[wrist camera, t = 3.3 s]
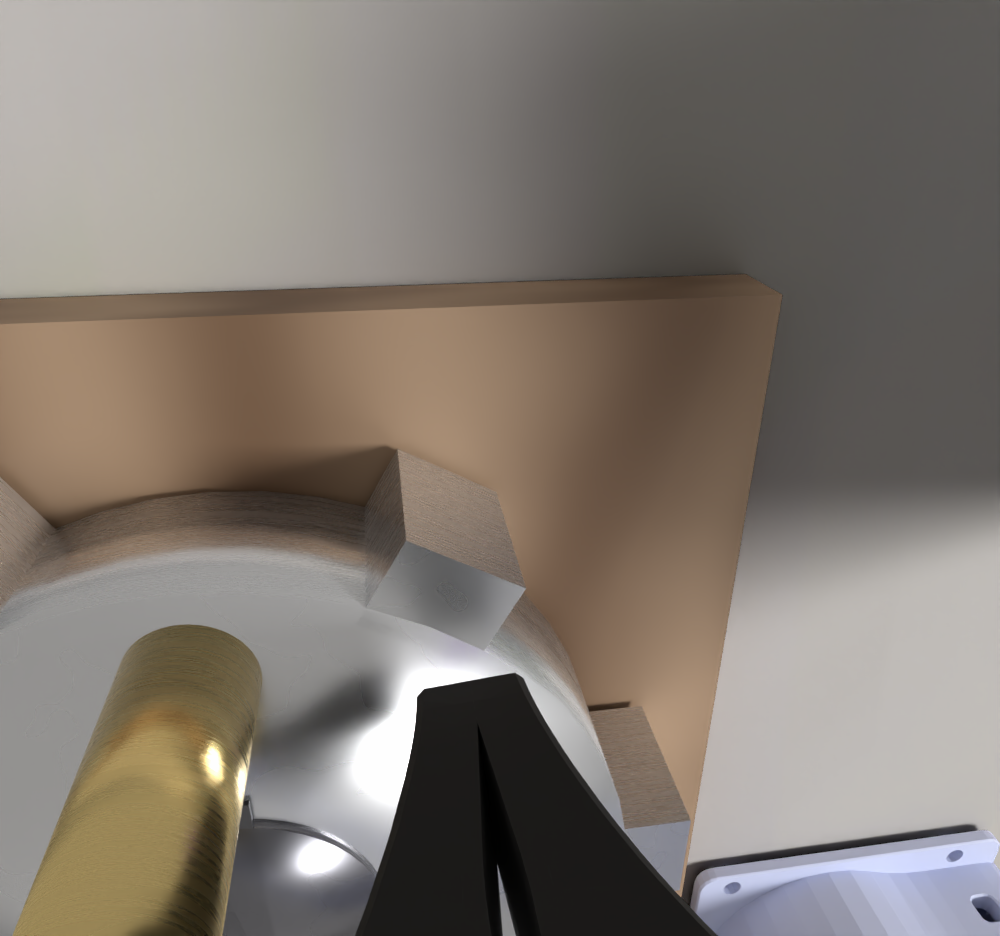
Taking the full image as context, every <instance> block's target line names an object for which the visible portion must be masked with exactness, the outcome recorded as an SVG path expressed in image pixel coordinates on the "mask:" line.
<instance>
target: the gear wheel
mask: <svg viewBox="0 0 1000 936" xmlns="http://www.w3.org/2000/svg"><path fill="white" fill-rule="evenodd" d="M525 590H526V586H525V583H524V580H523V577H522V573H521V570H520V567H519V564H518V560H517V557H516V554H515V551H514V548H513V544H512V541H511V538H510V535H509V531H508V528H507V525H506V522H505V518H504V515H503V512H502V509H501V506H500V502H499V499H498V496H497V493H496V492H495V491H493V490H490V489H488V488H486V487H484V486H481V485H479V484H477V483H474V482H472V481H470V480H468V479H465V478H463V477H461V476H459V475H456V474H454V473H452V472H450V471H447V470H445V469H443V468H441V467H438V466H436V465H434V464H431V463H429V462H427V461H425V460H422V459H420V458H418V457H416V456H413V455H411V454H409V453H407V452H404V451H402V450H400V449H397V450H396V452H395V454H394V456H393V458H392V459H391V461H390V463H389V465H388V466H387V468H386V470H385V472H384V474H383V475H382V477H381V479H380V481H379V482H378V484H377V486H376V488H375V490H374V491H373V493H372V495H371V497H370V498H369V500H368V502H367V504H366V506H365V507H364V506H360V505H355V504H350V503H346V502H341V501H336V500H332V499H327V498H322V497H317V496H307V495H297V494H287V493H277V492H267V491H248V492H205V493H197V494H188V495H180V496H172V497H164V498H156V499H151V500H147V501H143V502H138V503H134V504H130V505H126V506H122V507H118V508H114V509H109V510H105V511H101V512H98V513H96V514H93V515H90V516H87V517H85V518H82V519H79V520H77V521H74V522H71V523H69V524H66V525H63V526H61V527H58V528H54V527H53V526H52V525H51V524H50V523H49V522H47V521H46V520H45V519H44V518H43V517H42V516H41V515H40V514H39V513H38V512H37V511H36V510H35V509H34V508H33V507H32V506H30V505H29V504H28V503H27V502H26V501H25V500H24V499H23V498H22V497H21V496H20V495H19V494H18V493H17V492H16V491H15V490H13V489H12V488H11V487H10V486H9V485H8V484H7V483H6V482H5V481H4V480H3V479H2V478H1V477H0V936H355V934H356V931H357V929H358V926H359V923H360V921H361V918H362V915H363V913H364V910H365V907H366V905H367V902H368V899H369V896H370V893H371V890H372V887H373V884H374V881H375V878H376V875H377V872H378V869H379V866H380V863H381V860H382V857H383V854H384V851H385V848H386V845H387V841H388V838H389V835H390V831H391V828H392V824H393V820H394V817H395V813H396V809H397V805H398V801H399V798H400V794H401V790H402V786H403V783H404V779H405V774H406V769H407V765H408V760H409V755H410V750H411V745H412V739H413V733H414V725H415V717H416V699H417V696H418V695H419V694H420V693H421V691H422V690H423V689H425V688H431V687H436V686H442V685H448V684H453V683H459V682H465V681H470V680H476V679H481V678H487V677H493V676H498V675H504V674H510V673H516V674H518V675H520V676H521V677H523V678H524V680H525V683H526V685H527V687H528V689H529V691H530V693H531V695H532V697H533V699H534V701H535V703H536V705H537V707H538V709H539V711H540V712H541V714H542V716H543V717H544V719H545V721H546V723H547V724H548V726H549V728H550V729H551V731H552V732H553V734H554V736H555V737H556V739H557V740H558V742H559V743H560V745H561V747H562V748H563V750H564V751H565V753H566V754H567V756H568V757H569V759H570V760H571V762H572V763H573V765H574V766H575V767H576V769H577V770H578V771H579V773H580V774H581V776H582V777H583V778H584V780H585V781H586V782H587V784H588V785H589V787H590V788H591V789H592V791H593V792H594V794H595V795H596V796H597V798H598V799H599V800H600V802H601V803H602V804H603V806H604V807H605V808H606V810H607V811H608V812H609V813H610V815H611V816H612V817H613V819H614V820H615V821H616V822H617V824H618V825H619V826H620V827H621V829H622V830H623V831H624V832H625V833H626V835H627V836H628V837H629V838H630V840H631V841H632V842H633V843H634V844H635V846H636V847H637V848H638V849H639V851H640V852H641V853H642V854H643V855H644V856H645V858H646V859H647V860H648V861H649V862H650V863H651V865H652V866H653V867H654V868H655V869H656V870H657V872H658V873H659V874H660V875H661V876H662V877H663V878H664V879H665V881H666V882H667V883H668V884H669V885H670V886H671V887H672V888H673V889H674V891H677V890H680V884H681V878H682V872H683V866H684V859H685V853H686V847H687V841H688V835H689V829H690V823H691V819H690V817H689V815H688V813H687V810H686V808H685V806H684V803H683V801H682V799H681V796H680V794H679V792H678V789H677V787H676V785H675V782H674V780H673V778H672V775H671V773H670V771H669V768H668V766H667V764H666V762H665V759H664V757H663V755H662V752H661V750H660V748H659V745H658V743H657V741H656V738H655V736H654V734H653V731H652V729H651V727H650V724H649V722H648V720H647V717H646V715H645V713H644V711H643V708H642V706H635V707H626V708H617V709H608V710H599V711H589V710H588V707H587V705H586V702H585V699H584V696H583V693H582V690H581V687H580V684H579V682H578V679H577V677H576V674H575V671H574V669H573V666H572V664H571V661H570V658H569V656H568V653H567V652H566V650H565V648H564V647H563V645H562V643H561V641H560V640H559V638H558V636H557V635H556V633H555V631H554V630H553V628H552V626H551V625H550V623H549V622H548V621H547V620H546V618H545V617H544V616H543V615H542V614H541V612H540V611H539V610H538V609H537V608H536V606H535V605H534V604H533V603H532V602H531V600H530V599H529V598H528V597H527V596H526V595H525V594H524V591H525ZM497 867H498V865H497ZM498 880H499V893H500V906H501V919H502V932H503V936H516V935H515V931H514V927H513V923H512V919H511V915H510V911H509V908H508V904H507V900H506V896H505V892H504V888H503V884H502V880H501V877H500V873H499V869H498Z"/></svg>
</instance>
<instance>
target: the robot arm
mask: <svg viewBox="0 0 1000 936" xmlns="http://www.w3.org/2000/svg"><path fill="white" fill-rule="evenodd" d="M999 845H1000V844H999V842H998V840H997V839H996V838H995V836H994V835H993V834H992V833H991V832H989V831H987V830H978V831H971V832H963V833H956V834H949V835H942V836H935V837H928V838H921V839H914V840H906V841H899V842H892V843H885V844H878V845H871V846H864V847H857V848H850V849H842V850H835V851H828V852H821V853H814V854H807V855H800V856H793V857H785V858H778V859H771V860H764V861H757V862H750V863H743V864H736V865H729V866H721V867H714V868H710V869H706V870H704V871H703V872H701V873H700V874H699V875H698V876H697V877H696V879H695V882H694V887H693V893H692V898H691V904H690V906H689V905H688V904H687V903H686V902H685V901H684V900H683V899H682V898H681V897H680V896H679V895H678V894H677V893H676V892H675V891H674V889H673V888H672V887H671V886H670V885H669V884H668V883H667V882H666V881H665V879H664V878H663V877H662V876H661V875H660V874H659V873H658V872H657V870H656V869H655V868H654V867H653V866H652V865H651V863H650V862H649V861H648V860H647V859H646V858H645V856H644V855H643V854H642V853H641V852H640V851H639V849H638V848H637V847H636V846H635V844H634V843H633V842H632V841H631V840H630V838H629V837H628V836H627V835H626V833H625V832H624V831H623V830H622V829H621V827H620V826H619V825H618V824H617V822H616V821H615V820H614V819H613V817H612V816H611V815H610V813H609V812H608V811H607V810H606V808H605V807H604V806H603V804H602V803H601V802H600V800H599V799H598V798H597V796H596V795H595V794H594V792H593V791H592V789H591V788H590V787H589V785H588V784H587V782H586V781H585V780H584V778H583V777H582V776H581V774H580V773H579V771H578V770H577V769H576V767H575V766H574V765H573V763H572V762H571V760H570V759H569V757H568V756H567V754H566V753H565V751H564V750H563V748H562V747H561V745H560V743H559V742H558V740H557V739H556V737H555V736H554V734H553V732H552V731H551V729H550V728H549V726H548V724H547V723H546V721H545V719H544V717H543V716H542V714H541V712H540V711H539V709H538V707H537V705H536V703H535V701H534V699H533V697H532V695H531V693H530V691H529V689H528V687H527V685H526V683H525V680H524V678H523V677H521V676H520V675H518V674H516V673H510V674H504V675H498V676H493V677H487V678H481V679H476V680H470V681H465V682H459V683H453V684H448V685H442V686H436V687H431V688H425V689H423V690H422V691H421V693H420V694H419V695H418V696H417V699H416V717H415V725H414V733H413V739H412V745H411V750H410V755H409V760H408V765H407V769H406V774H405V779H404V783H403V786H402V790H401V794H400V798H399V801H398V805H397V809H396V813H395V817H394V820H393V824H392V828H391V831H390V835H389V838H388V841H387V845H386V848H385V851H384V854H383V857H382V860H381V863H380V866H379V869H378V872H377V875H376V878H375V881H374V884H373V887H372V890H371V893H370V896H369V899H368V902H367V905H366V907H365V910H364V913H363V915H362V918H361V921H360V923H359V926H358V929H357V931H356V934H355V936H503V932H502V919H501V906H500V893H499V880H498V869H499V873H500V877H501V880H502V884H503V888H504V892H505V896H506V900H507V904H508V908H509V911H510V915H511V919H512V923H513V927H514V931H515V935H516V936H1000V870H999V869H998V867H997V866H996V865H995V864H994V863H993V862H994V859H995V857H996V855H997V852H998V850H999ZM497 865H498V867H497Z"/></svg>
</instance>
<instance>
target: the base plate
mask: <svg viewBox="0 0 1000 936" xmlns="http://www.w3.org/2000/svg"><path fill="white" fill-rule="evenodd" d="M781 301H782V294H780V293H778V292H777V291H775V290H773V289H771V288H770V287H768V286H766V285H764V284H762V283H761V282H759V281H757V280H755V279H754V278H752V277H750V276H748V275H747V274H736V275H706V276H676V277H646V278H616V279H587V280H557V281H527V282H497V283H467V284H438V285H408V286H378V287H348V288H318V289H289V290H259V291H229V292H199V293H169V294H140V295H110V296H80V297H50V298H21V299H0V477H1V478H2V479H3V480H4V481H5V482H6V483H7V484H8V485H9V486H10V487H11V488H12V489H13V490H15V491H16V492H17V493H18V494H19V495H20V496H21V497H22V498H23V499H24V500H25V501H26V502H27V503H28V504H29V505H30V506H32V507H33V508H34V509H35V510H36V511H37V512H38V513H39V514H40V515H41V516H42V517H43V518H44V519H45V520H46V521H47V522H49V523H50V524H51V525H52V526H53V527H54V528H58V527H61V526H63V525H66V524H69V523H71V522H74V521H77V520H79V519H82V518H85V517H87V516H90V515H93V514H96V513H98V512H101V511H105V510H109V509H114V508H118V507H122V506H126V505H130V504H134V503H138V502H143V501H147V500H151V499H156V498H164V497H172V496H180V495H188V494H197V493H205V492H248V491H267V492H277V493H287V494H297V495H307V496H317V497H322V498H327V499H332V500H336V501H341V502H346V503H350V504H355V505H360V506H364V507H365V506H366V504H367V502H368V500H369V498H370V497H371V495H372V493H373V491H374V490H375V488H376V486H377V484H378V482H379V481H380V479H381V477H382V475H383V474H384V472H385V470H386V468H387V466H388V465H389V463H390V461H391V459H392V458H393V456H394V454H395V452H396V450H397V449H400V450H402V451H404V452H407V453H409V454H411V455H413V456H416V457H418V458H420V459H422V460H425V461H427V462H429V463H431V464H434V465H436V466H438V467H441V468H443V469H445V470H447V471H450V472H452V473H454V474H456V475H459V476H461V477H463V478H465V479H468V480H470V481H472V482H474V483H477V484H479V485H481V486H484V487H486V488H488V489H490V490H493V491H495V492H496V493H497V496H498V499H499V502H500V506H501V509H502V512H503V515H504V518H505V522H506V525H507V528H508V531H509V535H510V538H511V541H512V544H513V548H514V551H515V554H516V557H517V560H518V564H519V567H520V570H521V573H522V577H523V580H524V583H525V586H526V590H525V591H524V594H525V595H526V596H527V597H528V598H529V599H530V600H531V602H532V603H533V604H534V605H535V606H536V608H537V609H538V610H539V611H540V612H541V614H542V615H543V616H544V617H545V618H546V620H547V621H548V622H549V623H550V625H551V626H552V628H553V630H554V631H555V633H556V635H557V636H558V638H559V640H560V641H561V643H562V645H563V647H564V648H565V650H566V652H567V653H568V656H569V658H570V661H571V664H572V666H573V669H574V671H575V674H576V677H577V679H578V682H579V684H580V687H581V690H582V693H583V696H584V699H585V702H586V705H587V707H588V710H589V711H599V710H608V709H617V708H626V707H635V706H642V708H643V711H644V713H645V715H646V717H647V720H648V722H649V724H650V727H651V729H652V731H653V734H654V736H655V738H656V741H657V743H658V745H659V748H660V750H661V752H662V755H663V757H664V759H665V762H666V764H667V766H668V768H669V771H670V773H671V775H672V778H673V780H674V782H675V785H676V787H677V789H678V792H679V794H680V796H681V799H682V801H683V803H684V806H685V808H686V810H687V813H688V815H689V817H690V819H691V823H690V829H689V835H688V841H687V847H686V853H685V859H684V866H683V872H682V878H681V884H680V890H677V891H675V892H676V893H677V894H678V895H679V896H680V897H681V896H682V891H683V885H684V879H685V873H686V867H687V861H688V855H689V849H690V843H691V837H692V831H693V825H694V819H695V813H696V807H697V801H698V795H699V789H700V783H701V777H702V771H703V765H704V759H705V753H706V748H707V742H708V736H709V730H710V724H711V718H712V712H713V706H714V700H715V694H716V688H717V682H718V676H719V670H720V664H721V658H722V652H723V646H724V640H725V634H726V628H727V622H728V616H729V611H730V605H731V599H732V593H733V587H734V581H735V575H736V569H737V563H738V557H739V551H740V545H741V539H742V533H743V527H744V521H745V515H746V509H747V503H748V497H749V491H750V485H751V479H752V473H753V468H754V462H755V456H756V450H757V444H758V438H759V432H760V426H761V420H762V414H763V408H764V402H765V396H766V390H767V384H768V378H769V372H770V366H771V360H772V354H773V348H774V342H775V336H776V331H777V325H778V319H779V313H780V307H781Z"/></svg>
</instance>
